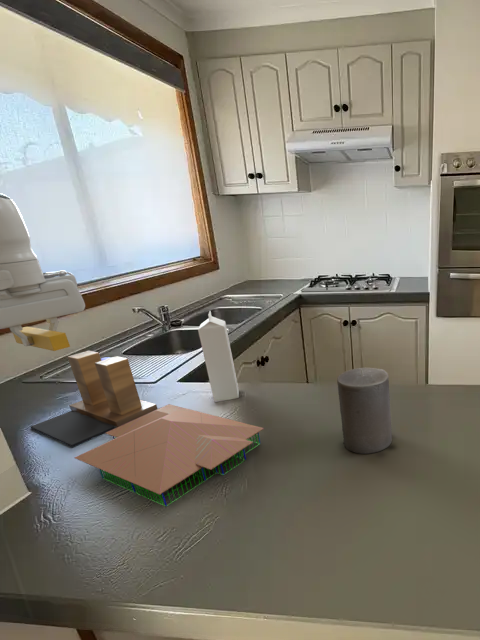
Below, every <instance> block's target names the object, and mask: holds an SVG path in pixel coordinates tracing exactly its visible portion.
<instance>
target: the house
mask: <svg viewBox="0 0 480 640" xmlns="http://www.w3.org/2000/svg"><path fill="white" fill-rule="evenodd" d="M263 430H265V428H264V427H261V426H257V425H253V424H249V423H245V422H241V421H237V420H234V419H229V418H226V417H221V416H217V415H213V414H209V413H206V412H202V411H198V410H194V409H190V408H186V407H182V406H178V405H174V404H170V403H168V404H166V405H163V406H162V407H159V408H158V409H157V410H155V411H152V412H150V413H148V414H146V415H144V416H141V417H139V418H137V419H135V420H133V421H130V422H128V423H126V424H124V425H122V426H119V427H115V429H113V430H111V431H108V432H106V433H104V435H105V434H106V435H108V436H111V437H112V439H111V440H108V441H106V442H104V443H102V444H100V445H98V446H96V447H94V448H92V449H90V450H87V451H84V452H83V453H81V454H79V455H77V456H74V459H75V460H77V461H80V462H82V463H85V464H87V465H90V466H92V467H94V468H97V469H98V470H99V472H100V475H101V478H102V479H103V480H105V481H107V482H109V483H112V484H114V485H116V486H119V487H121V488H123V489H125V490H128V491H129V492H132V493H134V494H137V495H139V496H141V497H143V498H145V499H148V500H150V501H152V502H154V503H157V504H159V505H162V506H163V507H168V506H170V505H171V504H173V503H174V502H175V501H177V500H179V499H180V498H182V497H183V496H184V495H186V494H187V493H189V492H190V491H192V490H193V489H195V488H197V487H198V486H200V485H201V484H203V483H205V482H206V481H207V480H209V479H211V477H213V476H214V475H216V474H219V475H221V476H224V475H226V474H227V473H229V472H231V471H232V470H234V469H235V468H236V467H238V466H239V465H241V464H242V463H244V462H245V461H247V457H246V454H248V453H249V452H250V451H252V450H253V449H255V448H256V447H258V446H260V445H261V444H262V443H261V438H260V433H259V432H261V431H263ZM254 437H255V438H254ZM252 444H253V445H254V446H252ZM249 446H250V448H251V449H249ZM246 448H247V451H246ZM243 456H244V457H243ZM230 458H231V460H230ZM234 459H235V461H236V462H235V463H236V465H235V464H234ZM237 459H239V463H238V460H237ZM241 460H242V461H241ZM226 461H227V462H226ZM230 462H232V466H233V467H232V468H231V464H230ZM223 463H224V464H223ZM227 464H228V466H229V470H228V468H227ZM224 466H225V471H226V472H225V473H224V468H223V467H224ZM217 468H218V469H217ZM214 470H215V471H214ZM206 471H208V474H209V477H207V472H206ZM211 471H212V472H213V474H211ZM198 473H199V474H198ZM190 476H192V478H191V479H190ZM187 478H188V481H187V482H186V479H187ZM195 478H197V480H198V484H196V480H195ZM192 480H193V483H194V487H193V486H192V482H191V481H192ZM200 480H201V481H200ZM182 481H184V484H182ZM179 483H180V486H179V487H178V486H177V485H178V484H179ZM187 483H189V484H190V485H189V486H190V488H191V489H188V485H187ZM184 485H185V487H186V491H187V492H185V493H184V488H183V486H184ZM173 487H175V489H173ZM180 488H181V490H182V491H181V492H182V495H180V492H179V489H180ZM169 489H171V492H170V493H169ZM175 491H177V495H178V497H177V498H176V496H175V493H174V492H175ZM164 493H167V494H166V495H164ZM171 494H173V499H174V500H171V497H170V495H171ZM167 496H168V498H169V502H170V503H168V504H167V501H166V497H167Z"/></svg>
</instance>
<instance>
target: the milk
mask: <svg viewBox="0 0 480 640" xmlns="http://www.w3.org/2000/svg"><path fill="white" fill-rule="evenodd" d="M207 316H208V318H207V319H206V320H204V321H203V322H201V323H200V324H199V326H198V329H197V332H198V337H199V340H200V345H201V348H202V349H201V350H202V354H203V358H204V359H203V360H204V363H205V368H206V372H207V376H208V381H209V386H210V389H211V394H212V398H213V402H214V403H219V402H223V401H229V400H236V399H239V397H240V396H239V395H240V388H239V383H238V379H237V374H236V367H235V365H234V364H235V362H234V359H233V354H232V349H231V348H232V347H231V343H230V339H229V333H228V328H227V323H226V320H224V319H221V318H218V317H215V316H212V312H211V310H209V312H208V314H207Z"/></svg>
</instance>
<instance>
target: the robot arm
mask: <svg viewBox="0 0 480 640" xmlns="http://www.w3.org/2000/svg"><path fill="white" fill-rule="evenodd" d="M85 309H86V303H85V300H84V298H83V296H82V294H81V292H80V290H79V288H78V282H77V278H76V276H75V275H74V274H73V273H72V272H69V271H66V270H64V269H63V270H58V271H48V272H43V269H42V267H41V263H40V260H39V259H38V256H37V255H36V253H35V252H34V249H33V248H32V244H31V236H30V232H29V231H28V228H27V225H26V223H25V220H24V218H23V215H22V214H21V211H20V209H19V208H18V206H17V204H16V202H15V201H14V200H13V199H12V198H11V197H10V196H8V195H6V194H5V193H1V192H0V330H5V329H8V328H9V330H10V332H11V333H12V332H13V333H14V334H15V335H17V336H18V337H19V338H21V340H22V343H23V344H22V345H23V346H24V347H31V346H30V345H34V344H35V343H34V341H33V338H32V336H25V335H24V334H23V333H22V332H20V331H21V330H23V329H22V328H23V327H22V325H27V324H30V323H36V322H40V321H44V320H45V321H46V323H48V324H49V326H48V330H51V331H57V330H58V327H59V326H58V325H59V322H60V321H59V319H58V318H59V317H64V316H68V315H72V314H77V313H81V312H84V311H85ZM19 330H20V331H19ZM13 333H12V334H13Z"/></svg>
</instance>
